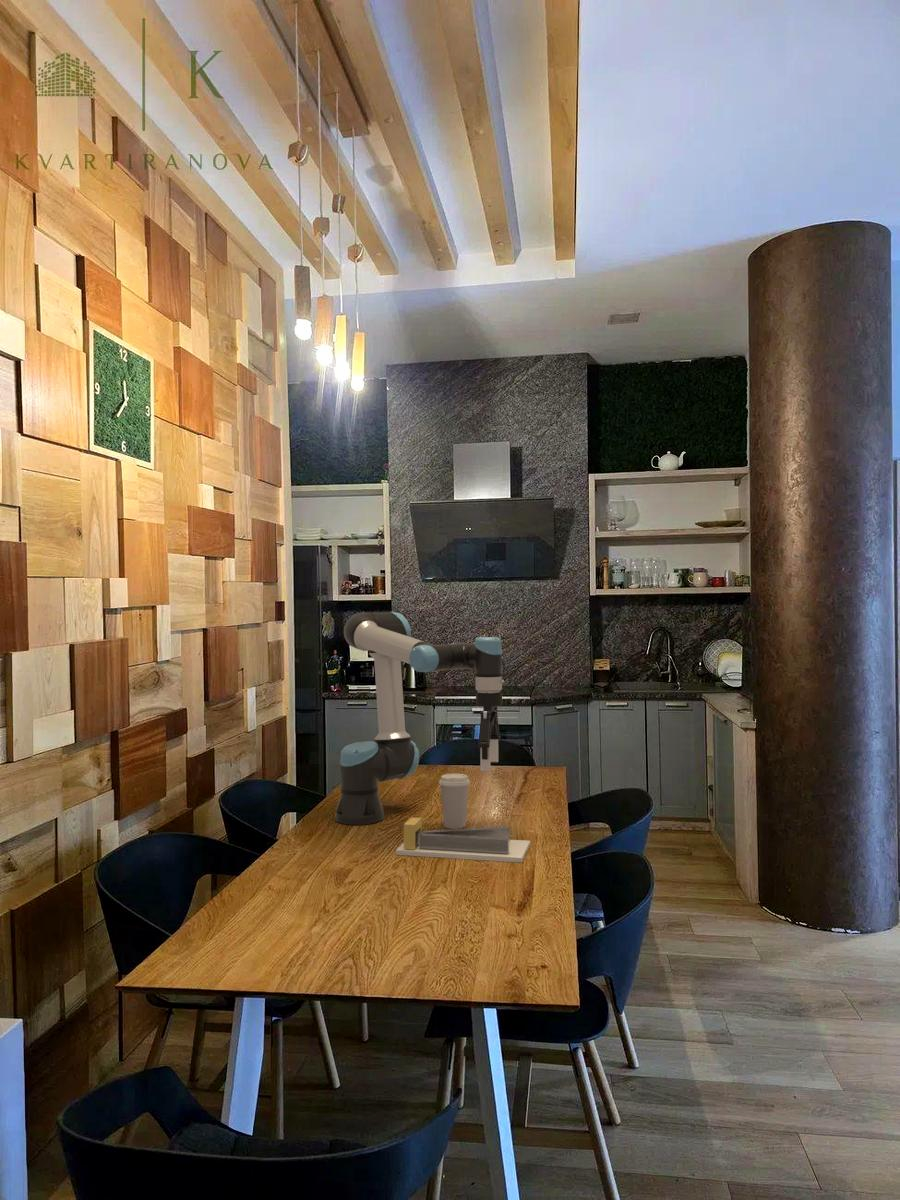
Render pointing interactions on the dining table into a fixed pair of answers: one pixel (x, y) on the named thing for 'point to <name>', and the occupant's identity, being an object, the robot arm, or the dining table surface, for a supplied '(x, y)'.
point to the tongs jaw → (475, 832)
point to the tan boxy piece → (411, 832)
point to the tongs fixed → (462, 842)
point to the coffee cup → (454, 799)
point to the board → (472, 853)
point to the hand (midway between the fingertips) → (489, 766)
